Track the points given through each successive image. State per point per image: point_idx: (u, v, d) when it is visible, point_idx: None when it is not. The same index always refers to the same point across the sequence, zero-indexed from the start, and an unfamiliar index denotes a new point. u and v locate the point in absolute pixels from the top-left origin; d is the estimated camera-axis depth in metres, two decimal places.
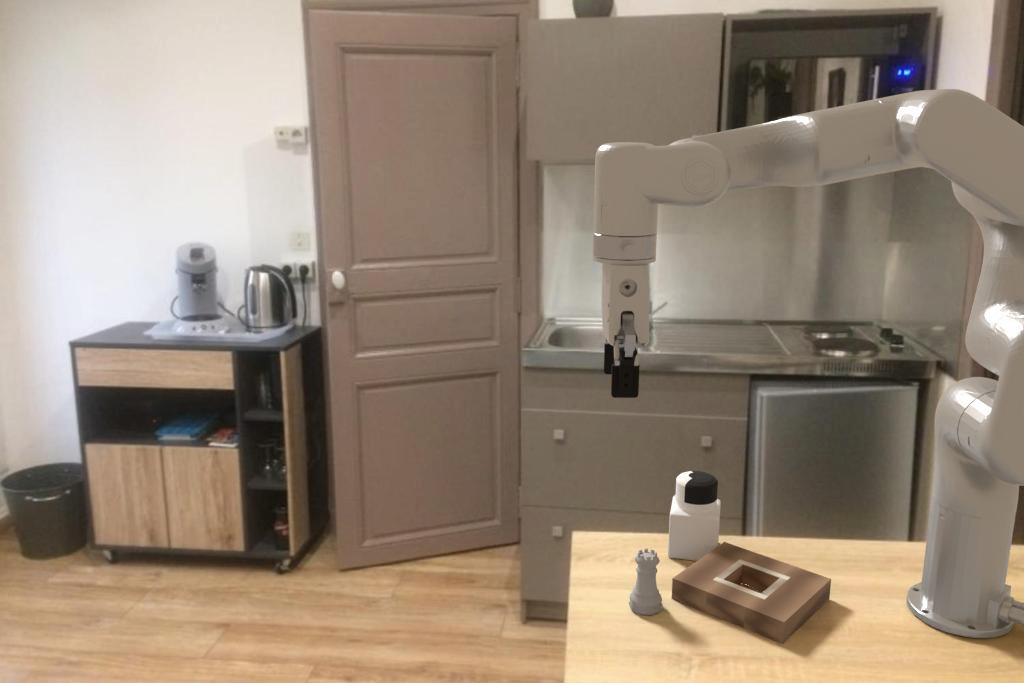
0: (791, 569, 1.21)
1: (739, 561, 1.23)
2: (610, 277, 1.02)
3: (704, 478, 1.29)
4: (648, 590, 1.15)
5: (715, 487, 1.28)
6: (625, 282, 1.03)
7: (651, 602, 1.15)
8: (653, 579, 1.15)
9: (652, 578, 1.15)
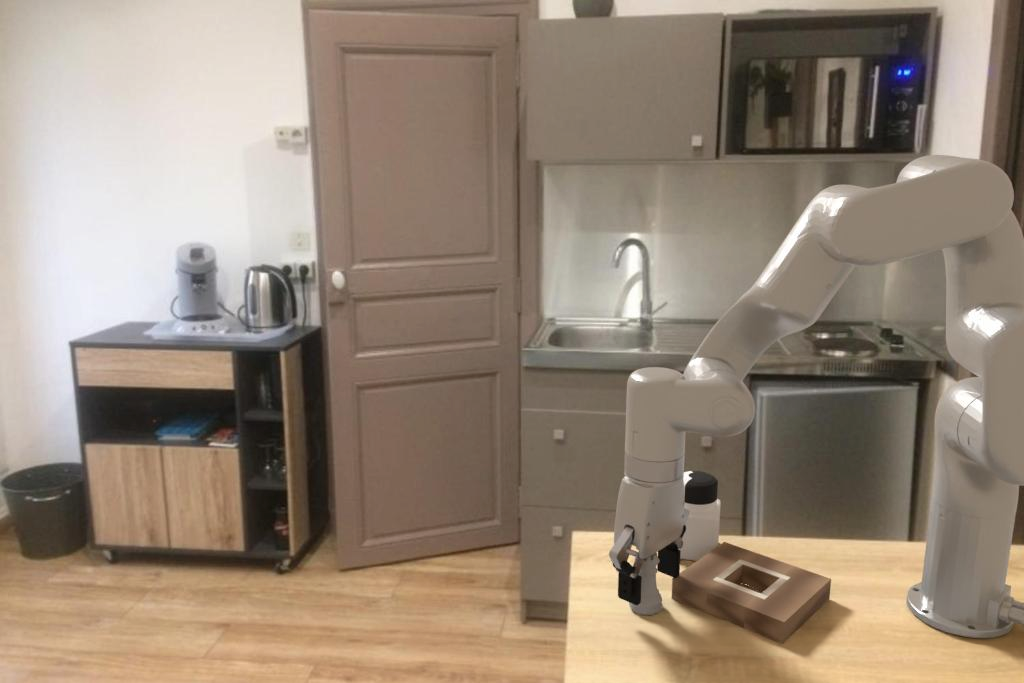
0: (791, 569, 1.21)
1: (739, 561, 1.23)
2: None
3: (704, 478, 1.29)
4: (648, 590, 1.15)
5: (715, 487, 1.28)
6: None
7: (651, 602, 1.15)
8: (653, 579, 1.15)
9: (652, 578, 1.15)
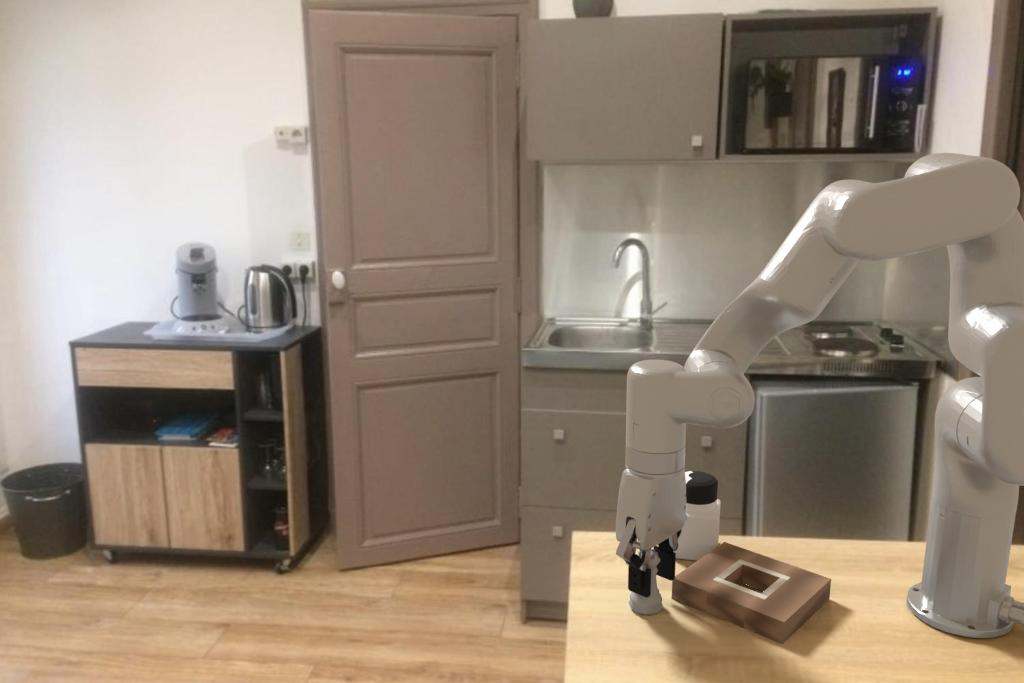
0: (791, 569, 1.21)
1: (739, 561, 1.23)
2: (684, 472, 1.15)
3: (704, 478, 1.29)
4: None
5: (715, 487, 1.28)
6: None
7: (651, 601, 1.15)
8: (653, 579, 1.15)
9: (652, 577, 1.15)
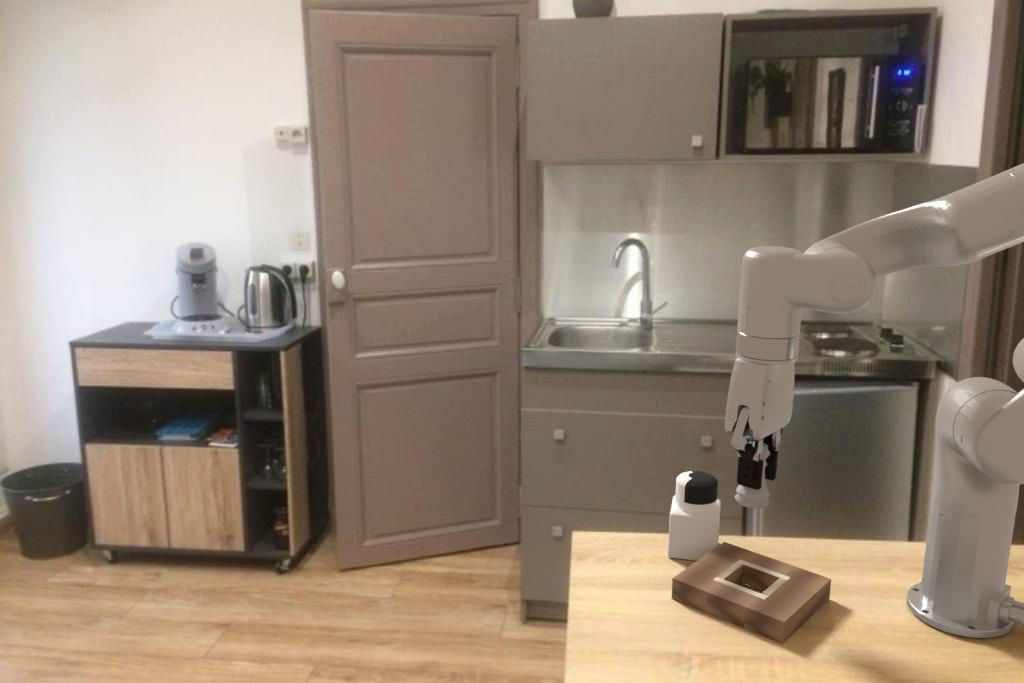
0: (791, 569, 1.21)
1: (739, 561, 1.23)
2: None
3: (704, 478, 1.29)
4: None
5: (715, 487, 1.28)
6: None
7: (760, 494, 1.14)
8: None
9: None
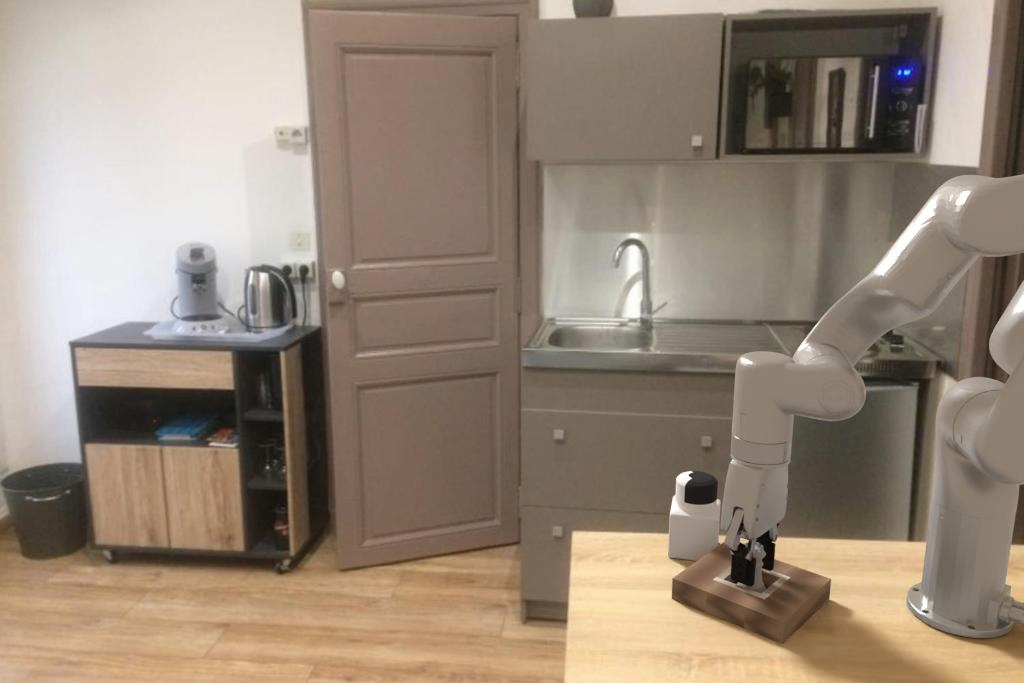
0: (791, 569, 1.21)
1: None
2: None
3: (704, 478, 1.29)
4: (755, 582, 1.17)
5: (715, 487, 1.28)
6: None
7: None
8: (759, 572, 1.17)
9: (759, 570, 1.17)
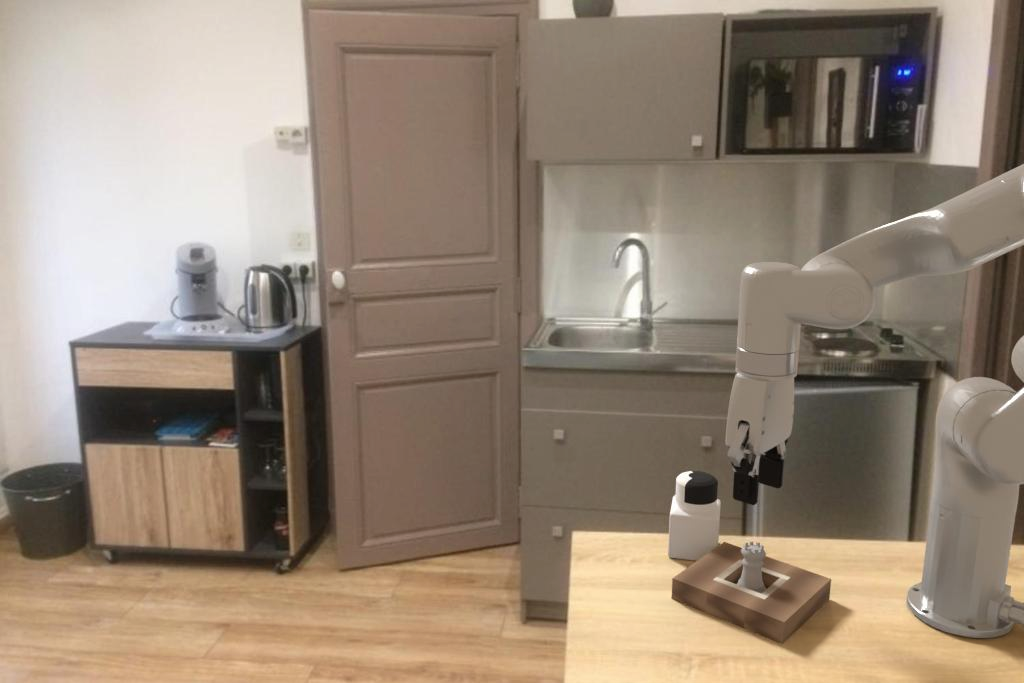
0: (791, 569, 1.21)
1: (739, 561, 1.23)
2: (793, 378, 1.13)
3: (704, 478, 1.29)
4: (755, 582, 1.17)
5: (715, 487, 1.28)
6: None
7: None
8: (759, 572, 1.17)
9: (759, 570, 1.17)
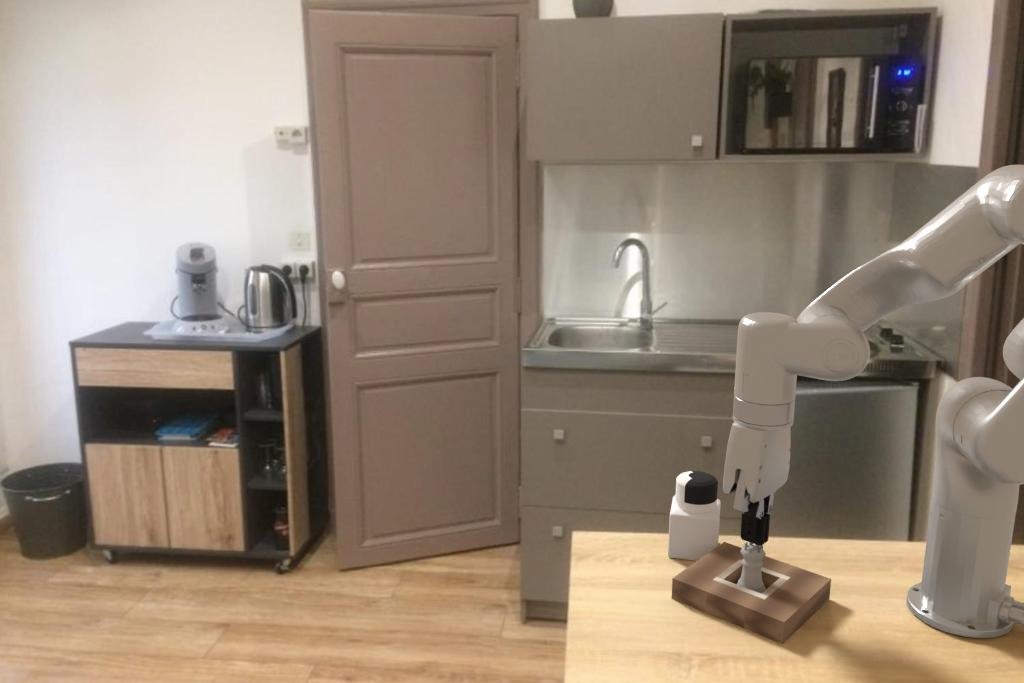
0: (791, 569, 1.21)
1: (739, 561, 1.23)
2: None
3: (704, 478, 1.29)
4: (754, 582, 1.17)
5: (715, 487, 1.28)
6: None
7: None
8: (759, 572, 1.17)
9: (758, 570, 1.17)
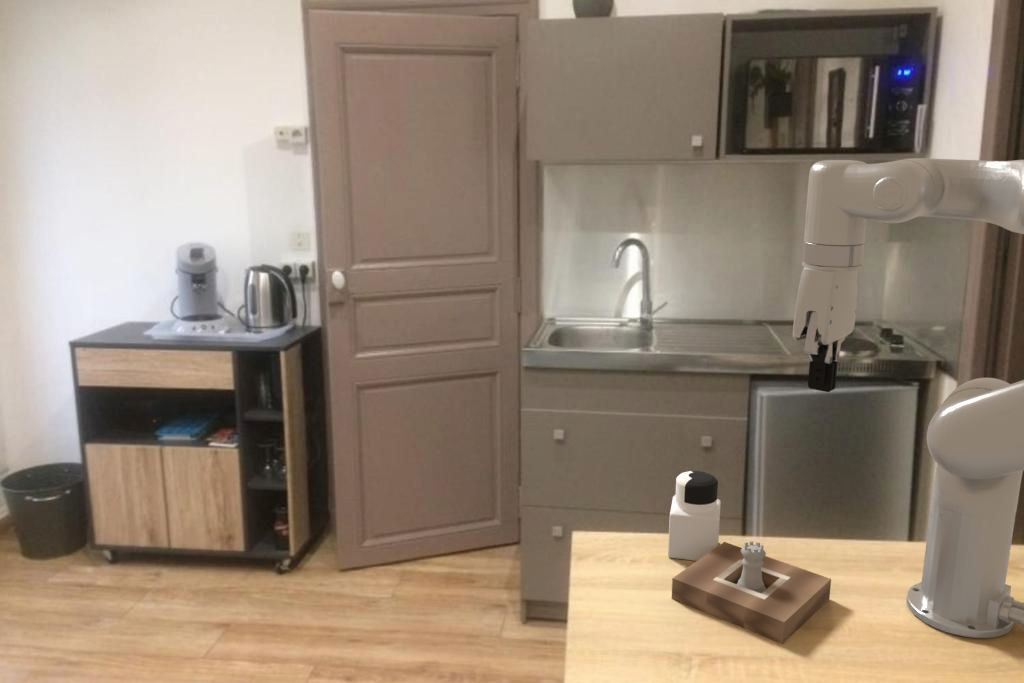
0: (791, 569, 1.21)
1: (739, 561, 1.23)
2: (857, 274, 1.18)
3: (704, 478, 1.29)
4: (754, 582, 1.17)
5: (715, 487, 1.28)
6: None
7: None
8: (759, 572, 1.17)
9: (758, 570, 1.17)
